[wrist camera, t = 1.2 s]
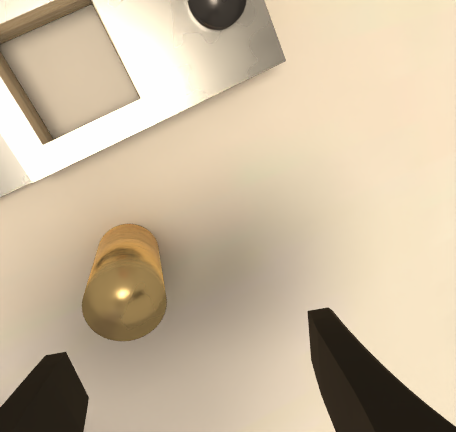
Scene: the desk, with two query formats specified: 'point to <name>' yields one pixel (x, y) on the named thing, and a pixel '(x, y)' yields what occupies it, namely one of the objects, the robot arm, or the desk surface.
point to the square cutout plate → (133, 71)
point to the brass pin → (125, 285)
